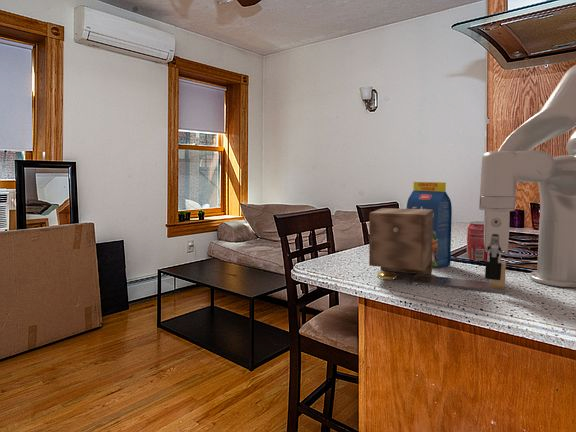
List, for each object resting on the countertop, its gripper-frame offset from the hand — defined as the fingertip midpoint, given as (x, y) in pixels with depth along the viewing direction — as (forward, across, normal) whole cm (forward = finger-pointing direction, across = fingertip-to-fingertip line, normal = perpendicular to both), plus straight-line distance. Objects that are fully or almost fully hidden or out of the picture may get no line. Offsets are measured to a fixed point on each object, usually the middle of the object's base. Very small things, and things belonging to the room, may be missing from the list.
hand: (492, 274), depth 97 cm
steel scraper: (+4, 0, +8) cm, 9 cm away
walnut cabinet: (+4, +2, +22) cm, 22 cm away
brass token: (+4, 0, +26) cm, 26 cm away
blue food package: (+4, +22, +18) cm, 28 cm away
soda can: (+3, +32, +4) cm, 32 cm away
